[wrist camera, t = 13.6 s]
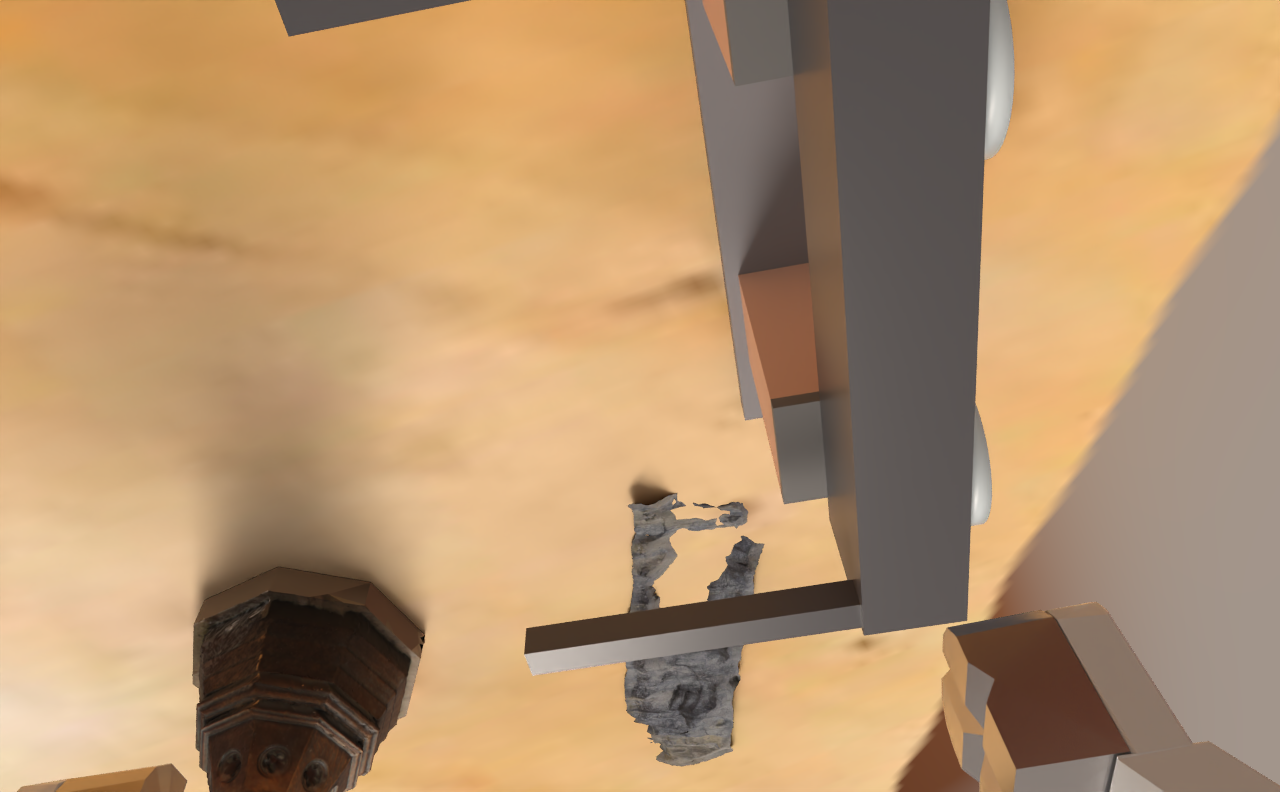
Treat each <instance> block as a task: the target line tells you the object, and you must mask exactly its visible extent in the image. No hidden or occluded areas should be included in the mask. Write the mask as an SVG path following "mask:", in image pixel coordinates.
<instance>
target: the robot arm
mask: <svg viewBox="0 0 1280 792" xmlns="http://www.w3.org/2000/svg"><path fill="white" fill-rule="evenodd" d="M943 653H944V656H945V658H946V661H947V663H948V665H949V668H950V670H949V671H948V672H947V673H946V674H945V676H944V677H943V678H942V702H943V708H944V714H945V719H946V725H947V728H948V731H949V735H950V738H951V741H952V744H953V747H954V750H955V753H956V755H957V758H958V760H959V763H960V766H961V768H962V770H964V771H965V772H966V773H968V774H969V775H970V776H972V777H973V778H974V779H975V780H977V781H978V782H980V789H979V792H1280V785H1278V784H1276V783H1275V782H1273V781H1272V780H1270V779H1268V778H1267V777H1265V776H1263V775H1262V774H1260V773H1259V772H1257V771H1256V770H1254V769H1252V768H1251V767H1249V766H1248V765H1246V764H1244V763H1243V762H1241V761H1240V760H1238V759H1237V758H1235V757H1233V756H1232V755H1230V754H1229V753H1227V752H1225V751H1224V750H1222V749H1220V748H1219V747H1217V746H1216V745H1214V744H1212V743H1211V742H1209V741H1207V742H1199V743H1192V741H1191V740H1190V738H1189V736H1188V735H1187V733H1186V732H1185V730H1184V729H1183V727H1182V726H1181V724H1180V723H1179V721H1178V719H1177V718H1176V716H1175V715H1174V713H1173V712H1172V710H1171V709H1170V707H1169V705H1168V704H1167V702H1166V701H1165V699H1164V698H1163V696H1162V695H1161V693H1160V691H1159V690H1158V688H1157V687H1156V685H1155V684H1154V682H1153V681H1152V679H1151V677H1150V676H1149V674H1148V673H1147V671H1146V670H1145V668H1144V667H1143V665H1142V663H1141V662H1140V660H1139V659H1138V657H1137V656H1136V654H1135V653H1134V651H1133V650H1132V648H1131V646H1130V645H1129V643H1128V642H1127V640H1126V639H1125V637H1124V636H1123V634H1122V632H1121V631H1120V629H1119V628H1118V626H1117V625H1116V623H1115V622H1114V620H1113V619H1112V617H1111V615H1110V614H1109V612H1108V611H1107V609H1105V608H1104V607H1103V606H1101V605H1100V604H1099V603H1097V602H1089V603H1084V604H1079V605H1073V606H1068V607H1063V608H1057V609H1052V610H1047V611H1042V610H1038V611H1033V612H1027V613H1022V614H1017V615H1011V616H1006V617H1001V618H996V619H990V620H985V621H979V622H974V623H969V624H963V625H958V626H953V627H948V628H947V629H946V631H945V632H944V634H943ZM186 783H187V780H186V779H185V778H184V777H183V775H182V774H181V773H180V772H179V771H178V770H177V769H176V768H175V767H174V766H173V765H172V764H165V765H158V766H152V767H145V768H139V769H132V770H125V771H119V772H112V773H106V774H99V775H92V776H86V777H79V778H71V779H65V780H59V781H53V782H47V783H41V784H35V785H29V786H23V787H21V788H20V789H19V790H18V791H17V792H184V789H185V786H186Z"/></svg>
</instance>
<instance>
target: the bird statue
mask: <svg viewBox="0 0 1280 792" xmlns="http://www.w3.org/2000/svg"><path fill="white" fill-rule="evenodd" d="M193 638H194V641H193V674H192V676H193V685H195V686H196V687H198V688H199V695H200V697H199V700H200V701H199V702H200V703H198V704H197V708H196V710H197V714H196V715H197V716H196V749H197V750H198V751H199V752H200V756H199V757H200V762H199V763H200V764H199V767H200V768H202V770H204V771H205V772H206V773H207V778H208V785H209V790H210V792H346V791H348V790H351V789H353V788H354V787H355V786H356V782H357V778H358V776H360V775H362V776H364V775H366V774H367V773H368V772H369V771H370V770H371V766H372V762H373V757H374V755H375V753H376V752H377V750H378V747H379V744H380V743H381V742H382V741H384V740H385V739H386V736H387V734H388V732H389V731H390V730H391V729H392V728H393V727H394V726H395V725H397V719H400V718H402V717H405V716H406V714H407V710H408V706H409V702H410V698H411V694H412V690H413V686H414V682H415V678H416V674H417V670H418V666H419V662H420V658H421V653H422V648H423V644H424V643H425V639H424V638H425V635H424V634H423V633H422V632H421V631H420V630H419V629H418V628H417V627H416V626H415V625H414V624H413V623H412V622H411V621H410V620H409V619H408V618H407V617H406V616H405V615H404V614H403V613H402V612H401V611H400V610H399V609H397V608H396V607H395V606H394V605H393V604H392V603H391V602H390V601H389V600H388V599H387V598H386V597H385V596H384V595H383V594H382V593H381V592H380V591H379V590H378V589H377V588H376V587H375V586H374V585H373V584H372V583H371V582H365V581H359V580H353V579H347V578H341V577H335V576H329V575H323V574H317V573H311V572H306V571H300V570H294V569H288V568H282V567H277V568H275V569H272V570H270V571H268V572H266V573H264V574H261V575H259V576H257V577H255V578H253V579H250V580H248V581H246V582H244V583H242V584H239V585H237V586H235V587H233V588H230V589H228V590H226V591H224V592H222V593H219V594H217V595H215V596H213V597H211V598H208V599H206V600H205V601H204V603H203V606H202V608H201V610H200V612H199V614H198V616H197V619H196V621H195V623H194V636H193Z"/></svg>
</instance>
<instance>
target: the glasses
mask: <svg viewBox="0 0 1280 792" xmlns="http://www.w3.org/2000/svg"><path fill="white" fill-rule="evenodd" d="M464 1H469V0H275V2H276V4H277V7H278V10H279V12H280V15H281V17H282V20H283V23H284V25H285V28H286V31H287V33H288V36H294V35H299V34H304V33H309V32H314V31H319V30H324V29H329V28H334V27H339V26H344V25H349V24H354V23H359V22H364V21H369V20H374V19H379V18H384V17H389V16H394V15H399V14H404V13H409V12H414V11H419V10H424V9H429V8H434V7H439V6H444V5H449V4H454V3H459V2H464ZM787 2H788V15H789V27H790V39H791V52H792V64H793V76H794V88H795V101H796V113H797V125H798V138H799V150H800V162H801V175H802V187H803V199H804V211H805V224H806V236H807V248H808V261H809V273H810V285H811V297H812V310H813V322H814V334H815V347H816V359H817V371H818V383H819V396H820V408H821V420H822V433H823V445H824V457H825V470H826V482H827V494H828V506H829V519H830V523H831V526H832V529H833V533H834V536H835V539H836V543H837V546H838V550H839V553H840V556H841V560H842V563H843V566H844V570H845V573H846V577H847V580H846V581H839V582H833V583H826V584H819V585H813V586H806V587H799V588H793V589H786V590H779V591H772V592H766V593H759V594H752V595H746V596H739V597H732V598H726V599H719V600H712V601H706V602H699V603H692V604H686V605H679V606H672V607H666V608H659V609H652V610H645V611H639V612H632V613H625V614H619V615H612V616H605V617H599V618H592V619H585V620H579V621H572V622H565V623H559V624H552V625H545V626H539V627H532V628H526V640H525V652H524V655H525V657H526V660H527V663H528V665H529V668H530V671H531V673H532V676H533V675H540V674H547V673H554V672H561V671H567V670H574V669H581V668H588V667H595V666H602V665H609V664H615V663H622V662H629V661H636V660H643V659H650V658H657V657H663V656H670V655H677V654H684V653H691V652H698V651H705V650H711V649H718V648H725V647H732V646H739V645H746V644H753V643H759V642H766V641H773V640H780V639H787V638H794V637H801V636H807V635H814V634H821V633H828V632H835V631H842V630H849V629H855V628H862V630H863V634H864V635H871V634H878V633H885V632H892V631H899V630H906V629H912V628H919V627H926V626H933V625H940V624H947V623H954V622H961V621H967V609H968V582H969V555H970V529H971V526H974V525H980V524H984V523H985V522H986V521H987V519H988V517H989V514H990V509H991V501H992V480H991V468H990V460H989V454H988V448H987V443H986V438H985V434H984V429H983V426H982V422H981V418H980V415H979V412H978V409H977V406H976V403H975V395H976V369H977V342H978V315H979V288H980V262H981V235H982V208H983V182H984V160H986V159H990V158H992V157H993V156H995V155H996V153H997V152H998V151H999V150H1000V148H1001V146H1002V144H1003V142H1004V139H1005V137H1006V133H1007V130H1008V126H1009V122H1010V117H1011V111H1012V103H1013V92H1014V48H1013V36H1012V27H1011V21H1010V14H1009V9H1008V4H1007V0H787Z"/></svg>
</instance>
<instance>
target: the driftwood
mask: <svg viewBox="0 0 1280 792" xmlns="http://www.w3.org/2000/svg"><path fill="white" fill-rule="evenodd" d="M674 499H675V500H676V501H677V493H676V494H673V495H669V496H667V497H665V498H664V499H662V500H661V501H660V500H659V501H658V502H657V503H654V504H652V505H643V504H629V505H628V507H629V508H631V509H632V510H633V511H632V512H633V513H634V526H635V528H634V531H635V532H636V535H635V538H634V539H633V541H632V547H631V551H632V556H633V558H632V559H633V563H634V564H633V566H632V567H633V569H632V575H633V579H634V580H633V581H634V584H633V587H634V588H633V593H632V600H631V611H630V613H632V612H639V611H645V610H652V609H659V608H660V607H659V603H660V597H658V596H656V594H654V592H655V591H656V590H655V589H654V587H651V586H652V585H653V584H654V581H655V580H656V579H658V578H659V577H660V576H661V575H663V574H664V572H665V571H666V570H667V568H668V567H669V565H670V564H672V563H673V561H674V560H675V558H676V557H677V554H676V552H675V550H674V549H673V548H672V546H671V543H670V541H669V539H670V537H671V536H672V535H673V534H674V533H676V531H677V530H678V529H681V528H687V529H688V530H691V531H700V530H705V529H715V528H721V527H731V526H735V528H736V529H737V527H738V526H739V525H743V524H745V523H746V522H747V514H748V511H747V510H746V509H745V508H744V506H743V503H741V504H740V503H739V502H731V503H729V504H726V505H721V506H719V507H717V508H719V509H720V510H726V511H730V515H729V514H723V515H721V516H720V517H719V519H720V522H722V523H723V524H724V525H719V526H717V525H716V524H715V523H716V520H717V518H716V519H711V520H708V521H705V520H703V519H698V518H692V519H681V520H676V517H675V515H674V514H673V513H672V512H671V511H670V510H672V509H675V508H678V507H683V506H686V505H685V504H684V503H682V502H679V501H677V502H676V503H675V504H674V505H672V502H673V500H674ZM693 504H694V505H695V506H700V507H703V508H711V507H714V506H710V505H708V504H699V505H698V504H696V503H693ZM646 534H648V535H649V536H646ZM741 538H742V541H740V542H738V543H737V544H735V545H734V547H733V550H732V552H731V554H730V555H729V556H727V557H726V562H727V564H728V566H727V568H726V569H725V571H724V572H723V573H722V575H721V576H720V578H719V579H718V580H716V581H714V582H711V583H710V585H709V586H708V587H707V588H708V590H709V596H708V599H707V600H708V601H712V600H719V599H726V598H732V597H739V596H746V595H752V594H754V583H753V578H754V577H753V575H754V574H755V569H756V567H757V565H758V561H759V560H758V559H759V558H760V554H761V553H762V548H763V546H764V544H757V543H754V542H753V541H752V540H750V539H748V537H745V536H741ZM742 648H743V645H739V646H732V647H725V648H718V649H711V650H705V651H698V652H691V653H684V654H677V655H670V656H663V657H657V658H650V659H643V660H636V661H629V662H626V668H627V670H628V671H627V673H626V674H627V675H626V676H625V698H626V700H625V701H626V704H627V710H626V711H627V713H629V714H630V715H631V716H633V717H635V718H636V719H635V721H634V722H636V723H642V724H646V725H649V726H648V730H647V732H649V733H650V734H651V736H652V738H648V739H651V740H654V741H653V742H654V743H660V744H661V745H660V748H661V749H662V750H663V752H661V753H660V754H659V755H658V756H657V758H656V760H658V761H659V762H663V763H666V764H670V765H672V766H673V765H675V766H685V765H694V764H697V763H700V762H703V761H708V760H710V759H712V758H716V757H718V756H721V755H724V753H728V752H732V751H733V749H732V748H731V747H730V743H731V732H732V728H733V723H734V722H733V706H732V699H733V691H734V690H735V688H736V686H737V685H738V683H739V681H740V676H739V674H738V673H739V669H738V662H739V661H740V660H741V650H742ZM650 743H652V742H650Z"/></svg>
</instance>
